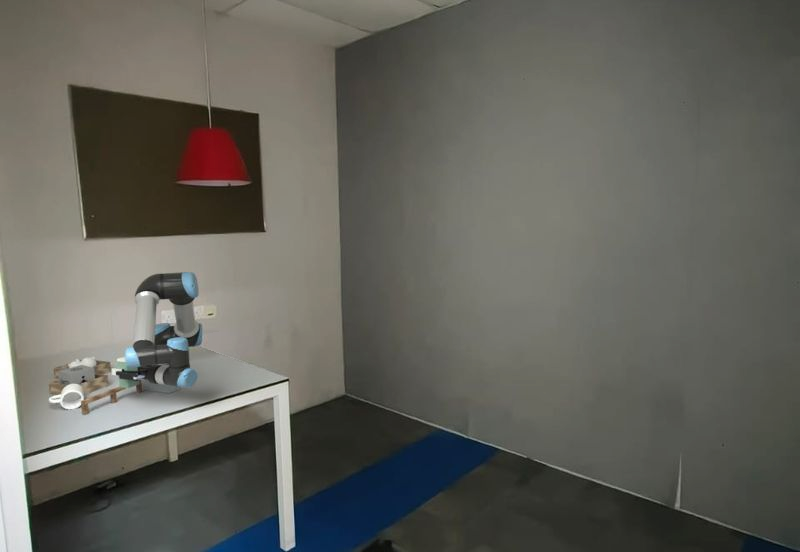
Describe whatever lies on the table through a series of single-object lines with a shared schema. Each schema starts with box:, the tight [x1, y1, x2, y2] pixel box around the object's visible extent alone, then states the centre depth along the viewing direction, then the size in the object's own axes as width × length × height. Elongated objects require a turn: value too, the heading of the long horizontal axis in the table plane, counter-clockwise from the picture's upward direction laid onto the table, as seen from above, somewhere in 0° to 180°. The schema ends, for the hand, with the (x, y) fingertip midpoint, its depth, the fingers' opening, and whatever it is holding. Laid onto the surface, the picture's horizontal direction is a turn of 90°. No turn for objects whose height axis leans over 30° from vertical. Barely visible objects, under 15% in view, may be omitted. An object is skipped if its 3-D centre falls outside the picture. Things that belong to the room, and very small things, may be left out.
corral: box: [48, 358, 112, 396], centre depth 229 cm, size 32×36×5 cm
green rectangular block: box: [116, 356, 139, 389], centre depth 202 cm, size 5×5×12 cm
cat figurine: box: [67, 356, 97, 368], centre depth 242 cm, size 9×11×12 cm
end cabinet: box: [140, 364, 181, 394], centre depth 217 cm, size 7×18×12 cm, turn 70°
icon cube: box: [58, 365, 95, 385], centre depth 217 cm, size 10×10×10 cm
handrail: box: [80, 379, 143, 416], centre depth 203 cm, size 27×2×6 cm, turn 160°
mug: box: [48, 384, 85, 411], centre depth 199 cm, size 12×10×8 cm
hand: (118, 369), depth 203 cm, fingers closed on green rectangular block, 5 cm apart
